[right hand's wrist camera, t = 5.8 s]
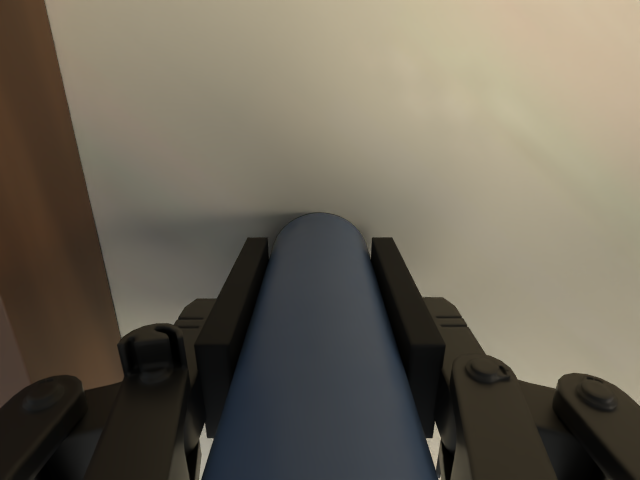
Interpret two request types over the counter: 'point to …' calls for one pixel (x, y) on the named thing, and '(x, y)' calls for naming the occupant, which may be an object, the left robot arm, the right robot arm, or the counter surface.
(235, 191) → the counter surface
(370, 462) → the peg
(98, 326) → the peg block
